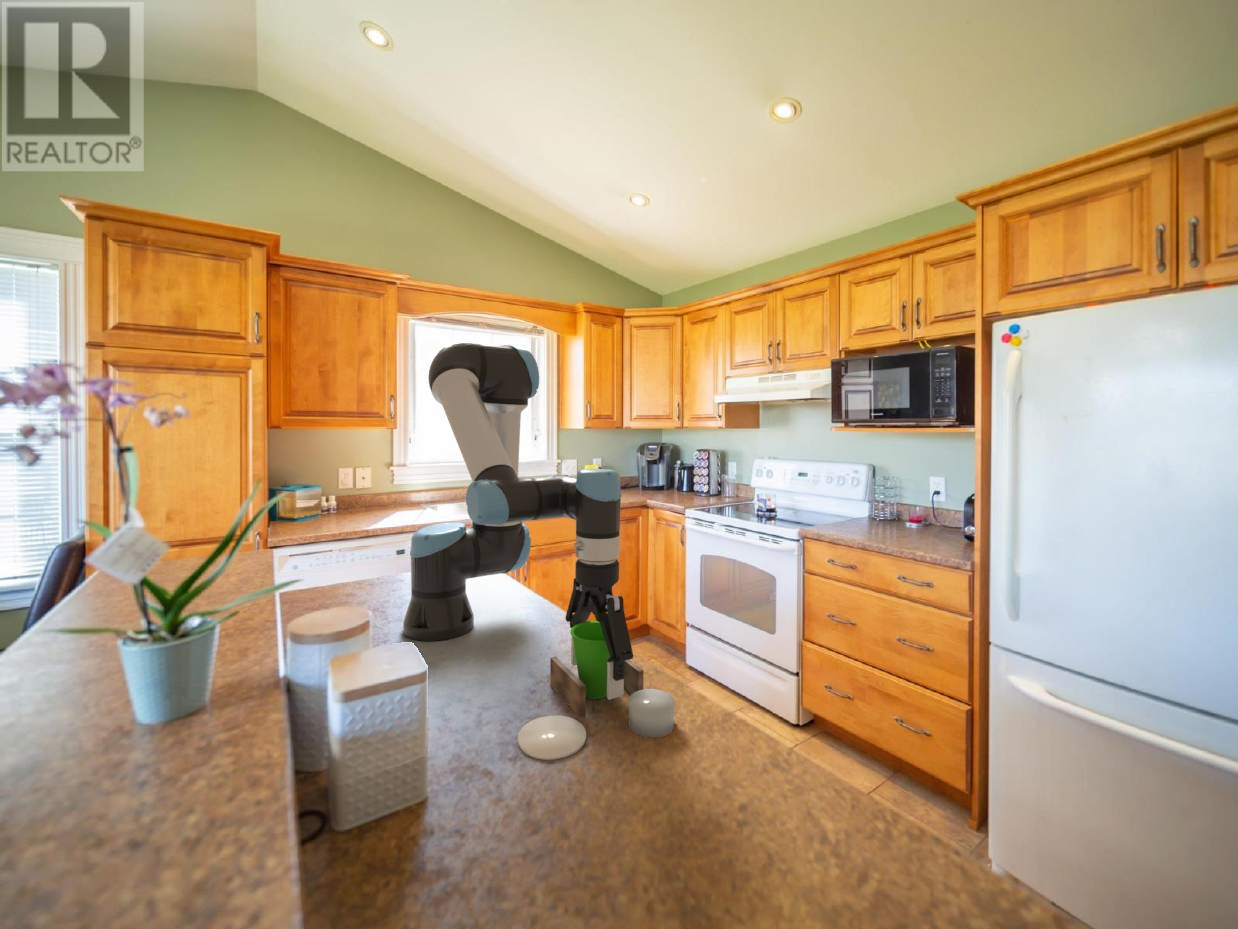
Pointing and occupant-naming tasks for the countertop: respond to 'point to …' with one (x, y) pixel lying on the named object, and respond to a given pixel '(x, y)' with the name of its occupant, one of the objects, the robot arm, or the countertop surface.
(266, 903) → the countertop surface
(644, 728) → the grey rounded puck
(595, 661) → the cup
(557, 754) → the white oval pebble
